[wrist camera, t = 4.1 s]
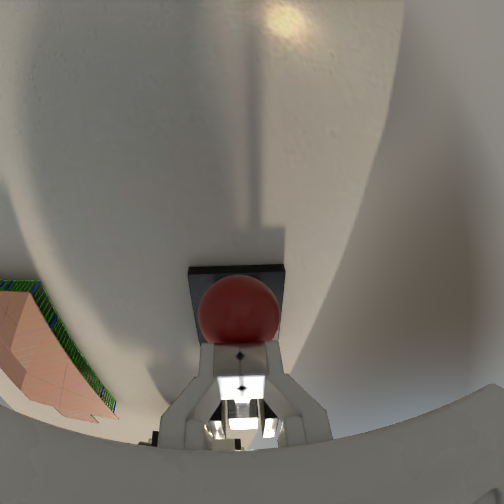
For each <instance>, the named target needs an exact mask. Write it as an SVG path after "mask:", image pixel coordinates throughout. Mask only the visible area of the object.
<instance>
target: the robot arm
mask: <svg viewBox="0 0 504 504" xmlns="http://www.w3.org/2000/svg"><path fill="white" fill-rule="evenodd" d="M256 398H263V399H264V401H265V402H266V403H267V404H268V406H269V407H270V408H271V409H272V411H273V412H274V413H275V414H276V415H277V417H278V418H279V419H280V420H281V421H282V426H281V430H280V434H279V437H278V440H277V441H278V448H270V449H254V450H212V441H211V439H210V436H209V433H208V431H207V428H206V424H207V422H208V421H209V419H210V418H211V416H212V415H213V413H214V412H215V410H216V409H217V407H218V406H219V404H220V402H221V400H230V399H256ZM0 504H504V389H503V388H502V387H500V386H498V385H496V384H489V385H486V386H485V387H483V388H481V389H479V390H477V391H475V392H473V393H471V394H469V395H467V396H465V397H463V398H461V399H459V400H456V401H454V402H452V403H449V404H447V405H445V406H442V407H440V408H438V409H435V410H433V411H430V412H428V413H425V414H422V415H420V416H417V417H414V418H411V419H408V420H405V421H402V422H399V423H396V424H394V425H390V426H387V427H383V428H380V429H376V430H372V431H369V432H365V433H361V434H357V435H353V436H348V437H343V438H339V439H334V440H333V437H332V432H331V428H330V424H329V420H328V416H327V411H326V410H325V409H324V408H323V407H322V406H321V405H320V404H319V403H318V402H317V401H316V400H315V399H314V398H312V397H311V396H310V395H309V394H308V393H307V392H306V391H305V390H304V389H303V388H302V387H301V386H300V385H299V384H298V383H297V382H296V381H295V380H294V379H293V378H292V377H291V376H290V375H289V374H284V371H283V365H282V359H281V354H280V348H279V342H278V341H277V340H272V341H252V342H239V343H201V346H200V360H199V376H198V377H194V379H193V380H192V381H191V382H190V383H189V385H188V386H187V387H186V388H185V389H184V391H183V392H182V393H181V394H180V395H179V396H178V398H177V399H176V400H175V401H174V402H173V403H172V405H171V406H170V407H169V408H168V409H167V410H166V411H165V413H164V414H163V415H162V416H161V420H160V428H159V438H158V447H152V446H144V445H137V444H130V443H124V442H119V441H113V440H108V439H103V438H99V437H94V436H90V435H86V434H82V433H78V432H74V431H71V430H67V429H64V428H60V427H57V426H54V425H51V424H48V423H45V422H42V421H39V420H36V419H34V418H31V417H28V416H26V415H23V414H21V413H18V412H16V411H13V410H11V409H9V408H6V407H4V406H2V405H0Z"/></svg>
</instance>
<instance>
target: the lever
mask: <svg viewBox="0 0 504 504" xmlns="http://www.w3.org/2000/svg"><path fill="white" fill-rule="evenodd" d="M198 322H199V326H200V329H201V332H202V334H203V336H204V337H205V339H206V340H207V341H208V343H239V342H252V341H271V340H272V339H273V338H274V336H275V334H276V332H277V330H278V326H279V322H280V310H279V305H278V302H277V299H276V297H275V295H274V294H273V292H272V291H271V290H270V289H269V288H268V287H267V286H266V285H265V284H264V283H263V282H261V281H259V280H258V279H255V278H253V277H250V276H245V275H233V276H228V277H224V278H222V279H220V280H218V281H217V282H215V283H214V284H212V285H211V286H210V287H209V288H208V289H207V291H206V292H205V293H204V295H203V297H202V299H201V301H200V304H199V309H198ZM227 402H228V421H229V426H230V429H246V428H257V426H258V407H257V398H256V399H230V400H227Z"/></svg>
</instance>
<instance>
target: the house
mask: <svg viewBox="0 0 504 504" xmlns="http://www.w3.org/2000/svg"><path fill="white" fill-rule="evenodd" d="M1 281H3V282H2V284H1V285H0V368H1V369H2V370H3V371H4V372H5V374H6V375H7V376H8V377H9V378H10V379H11V381H12V382H13V383H14V384H15V385H16V386H17V387H18V388H19V389H20V390H21V391H22V392H23V394H24V395H25V396H26V397H27V398H28V399H29V400H32V401H35V402H38V403H42V404H45V405H49V406H53V407H54V408H55V409H56V410H57V411H58V412H59V413H60V414H61V415H63V416H65V417H68V418H73V419H78V420H83V421H89V422H95V423H99V422H98V421H97V420H96V419H95V418H94V417H93V416H92V415H94V416H100V417H106V418H113V419H119V418H118V417H117V416H116V415H115V414H114V410H115V406H116V401H115V400H114V399H113V397H112V396H111V395H110V398H111V397H112V399H113V400H114V401H115V405H114V409H112V408H113V405H112V406H111V404H109V402H110V399H109V402H108V398H107V400H106V396H105V400H104V401H103V399H101V397H102V396H103V398H104V395H102V393H103V389H104V388H105V387H104V386H103V388H102V392H101V393H100V389H101V386H100V388H99V392H98V393H97V391H96V392H95V390H96V389H97V390H98V387H99V384H98V385H94V382H95V379H94V382H93V384H91V382H92V379H93V376H92V379H91V380H90V376H91V373H90V376H89V377H88V376H87V375H88V373H87V375H86V374H85V372H86V369H87V366H89V365H88V363H87V362H86V360H85V359H84V357H83V356H82V354H81V353H80V351H79V350H78V348H77V347H76V349H77V350H78V354H79V353H80V354H81V355H80V358H81V356H82V357H83V359H84V360H85V362H86V363H87V366H86V369H85V372H84V371H83V369H82V368H81V365H79V364H78V363H79V361H78V363H77V366H78V365H79V366H80V367H79V370H80V368H81V369H82V371H83V372H84V375H86V378H87V377H88V378H89V379H88V382H89V380H90V381H91V382H90V384H89V383H88V382H87V381H86V379H85V378H84V375H82V371H81V373H80V371H79V370H78V369H77V366H75V365H74V364H75V362H74V363H73V362H72V360H73V357H74V355H72V354H71V352H72V350H73V348H74V345H75V343H74V342H73V340H72V339H71V340H72V341H71V343H72V342H73V343H74V345H73V348H72V350H71V352H70V350H69V348H70V346H69V348H67V349H68V350H69V352H70V355H72V356H73V357H72V360H71V359H70V355H69V356H68V355H67V353H66V352H65V348H64V349H63V347H62V345H63V342H64V340H65V338H66V336H67V334H68V332H67V330H66V329H64V331H65V330H66V332H67V334H66V336H65V338H64V340H62V339H61V337H62V335H63V333H64V331H63V333H62V335H61V336H60V335H59V336H60V339H61V340H62V341H63V342H62V345H61V344H60V343H59V341H60V339H59V341H58V340H57V336H58V334H59V332H60V330H61V328H62V326H63V327H64V325H63V323H62V322H61V323H62V326H61V328H60V330H59V332H57V330H56V328H57V326H58V324H59V323H58V324H57V326H56V328H55V325H56V323H57V322H56V323H55V325H53V324H54V322H55V320H56V318H57V317H58V320H60V318H59V316H58V314H57V313H56V314H53V313H54V311H55V309H54V307H53V305H52V303H51V301H50V299H49V297H48V295H47V293H46V291H45V289H44V287H43V285H42V283H41V281H40V280H0V282H1ZM7 281H8V282H9V281H11V282H10V284H9V285H7V283H8V282H7ZM16 281H18V282H19V281H22V282H23V281H26V282H27V281H30V282H31V281H34V282H33V284H34V283H35V281H38V283H37V284H36V286H35V287H34V289H30V288H31V287H32V285H33V284H32V285H31V287H30V288H29V289H26V288H27V287H28V285H29V284H30V282H29V283H28V285H27V286H26V288H25V289H22V288H23V286H24V285H25V284H26V282H25V283H24V285H23V286H22V287H21V289H18V288H19V286H20V285H21V284H22V282H21V283H20V285H19V286H18V287H16V285H17V284H18V282H17V284H16V285H15V282H16ZM4 282H5V283H6V282H7V283H6V284H5V283H4ZM12 282H13V284H14V285H15V286H14V288H15V287H16V289H14V288H11V287H12V286H13V284H12ZM39 283H41V287H43V289H44V291H45V293H46V295H47V296H46V297H48V299H49V301H50V303H51V307H53V309H54V311H53V313H52V314H48V312H49V311H50V309H51V307H50V309H49V311H48V312H47V313H46V314H44V313H43V312H44V311H45V308H46V306H47V305H48V303H49V301H48V303H47V305H46V306H45V308H43V306H42V304H43V302H44V300H45V299H46V297H45V299H44V300H43V302H42V304H41V305H40V307H41V306H42V308H43V309H44V310H43V312H42V313H41V311H40V307H39V308H38V306H37V302H38V301H40V300H39V299H40V297H41V296H42V294H43V293H44V291H43V293H42V294H41V296H40V297H39V299H38V301H37V302H35V300H34V297H35V296H37V295H36V294H37V293H38V291H39V290H40V288H41V287H40V288H39V290H38V291H37V293H36V292H35V289H36V288H37V286H38V285H39ZM4 284H5V285H4ZM11 284H12V285H11ZM2 285H3V286H4V287H3V286H2ZM6 285H7V288H5V286H6ZM10 285H11V287H10V288H9V286H10ZM1 286H2V287H3V288H2V287H1ZM8 288H9V289H8ZM3 289H5V290H4V291H2V290H3ZM7 289H8V290H7ZM10 289H12V290H11V291H9V290H10ZM6 290H7V291H6ZM13 290H15V291H13ZM18 290H19V291H18ZM21 290H23V292H21ZM25 290H28V291H29V290H32V292H31V293H30V292H28V291H27V292H24V291H25ZM33 292H35V296H34V297H33V296H32V293H33ZM37 298H38V297H37ZM40 303H41V302H40ZM45 312H46V311H45ZM55 312H56V311H55ZM42 314H44V315H46V316H47V317H48V315H51V316H50V318H49V317H48V318H49V320H48V322H46V319H47V317H46V316H45V318H46V319H45V318H44V317H43V316H44V315H42ZM53 315H56V317H55V318H54V320H53V322H51V323H52V324H51V326H50V327H49V325H48V323H49V321H51V320H50V319H51V318H52V316H53ZM58 320H57V321H58ZM60 321H61V320H60ZM60 321H59V322H60ZM52 326H53V329H54V328H55V330H56V332H57V333H58V334H57V336H55V335H54V332H55V330H54V332H52V331H53V329H52V330H51V328H52ZM64 328H65V327H64ZM68 335H69V334H68ZM69 338H71V337H70V335H69ZM69 338H68V341H69ZM68 341H67V343H68ZM67 343H66V344H65V343H64V344H65V347H67V346H66V345H67ZM71 343H70V345H71ZM75 346H76V345H75ZM68 350H67V352H68ZM75 352H76V350H75ZM75 352H74V354H75ZM78 354H77V356H78ZM77 356H76V359H77ZM80 358H79V360H80ZM74 359H75V358H74ZM76 359H75V361H76ZM83 359H82V362H83ZM76 362H77V361H76ZM82 362H81V364H82ZM84 365H85V363H84ZM83 368H84V366H83ZM89 369H91V368H90V366H89ZM88 372H89V370H88ZM91 372H93V371H92V369H91ZM93 375H95V373H94V372H93ZM96 377H97V376H96V375H95V378H96ZM98 380H99V379H98V378H97V381H98ZM97 381H96V384H97ZM99 383H101V382H100V380H99ZM90 385H92V387H91V386H90ZM93 385H94V386H95V388H94V389H93ZM101 385H103V384H102V383H101ZM97 386H98V387H97ZM96 387H97V388H96ZM105 390H106V388H105ZM106 391H107V390H106ZM107 392H108V391H107ZM107 392H106V395H107ZM99 393H100V394H99ZM108 393H109V392H108ZM104 394H105V391H104ZM99 395H100V397H99ZM108 397H109V394H108ZM105 401H107V402H108V406H109V405H110V408H111V409H112V410H113V412H112V410H111V409H110V408H109V407H108V406H107V402H106V404H105ZM114 401H112V400H111V403H112V404H114Z"/></svg>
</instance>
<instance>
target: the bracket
mask: <svg viewBox="0 0 504 504" xmlns="http://www.w3.org/2000/svg"><path fill="white" fill-rule="evenodd" d="M285 272H286V271H285V268H284V264H276V265H246V266H212V267H189V269H188V274H187V275H188V281H189V288H190V294H191V299H192V305H193V311H194V316H195V322H196V327H197V332H198V337H199V342H200V346H201V343H208V341H207V340H206V339H205V337H204V336H203V334H202V332H201V329H200V326H199V322H198V309H199V304H200V301H201V299H202V297H203V295H204V293H205V292H206V291H207V289H208V288H209V287H210V286H211V285H212V284H214V283H215V282H217V281H218V280H220V279H222V278H224V277H228V276H233V275H245V276H250V277H253V278H255V279H258V280H259V281H261V282H263V283H264V284H265V285H266V286H267V287H268V288H269V289H270V290H271V291H272V292H273V294H274V295H275V297H276V299H277V302H278V305H279V310H280V321H281V312H282V302H283V293H284V283H285ZM279 330H280V322H279V326H278V330H277V332H276V334H275V336H274V338H273V339H272V340H277V341H278V338H279ZM272 340H271V341H272ZM259 405H260V415H261V425H262V435H263V438H265V437H274V436H275V433H276V429H277V425H278V421H279V418H278V417H277V415H276V414H275V413H274V412H273V411H272V409H271V408H270V407H269V406H268V404H267V403H266V402H265V401H264V399H263V398H259ZM208 424H209V427H210V430H211V432H212V435H213V438H214V439H226V427H225V400H221V402H220V404H219V406H218V407H217V409H216V410H215V412H214V413H213V415H212V416H211V418H210V419H209V421H208Z"/></svg>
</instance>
